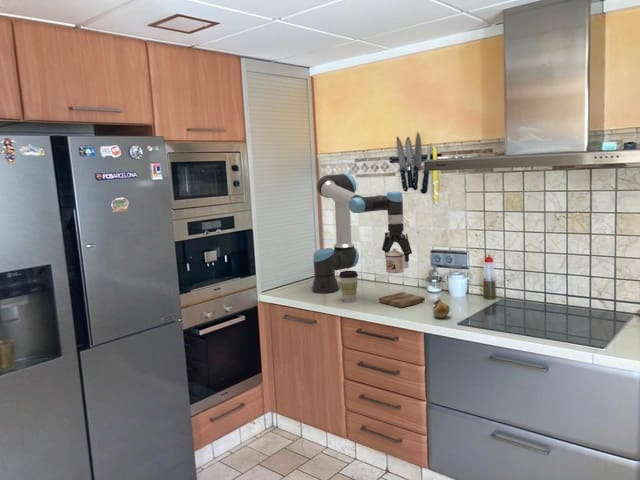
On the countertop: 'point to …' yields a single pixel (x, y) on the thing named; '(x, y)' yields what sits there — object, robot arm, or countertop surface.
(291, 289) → the countertop surface
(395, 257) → the teacup with lid
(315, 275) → the robot arm
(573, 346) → the countertop surface
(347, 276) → the coffee cup
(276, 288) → the countertop surface
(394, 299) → the walnut board
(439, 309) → the onion
